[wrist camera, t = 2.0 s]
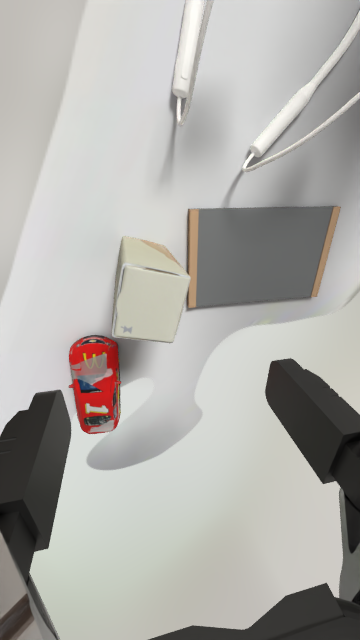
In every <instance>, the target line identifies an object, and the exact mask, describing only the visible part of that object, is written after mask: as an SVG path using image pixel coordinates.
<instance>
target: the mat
mask: <svg viewBox="0 0 360 640" xmlns="http://www.w3.org/2000/svg"><path fill="white" fill-rule="evenodd" d="M340 208H341V207H338V206H324V207H269V208H214V209H189V218H188V275H189V276H190V277H191V280H190V283H189V287H188V300H187V305H188V307H189V308H193V307H200V306H211V305H223V304H234V303H245V302H257V301H268V300H279V299H291V298H302V297H317V294H318V291H319V287H320V283H321V279H322V276H323V272H324V268H325V264H326V261H327V257H328V253H329V249H330V245H331V242H332V238H333V234H334V230H335V227H336V223H337V219H338V215H339V211H340Z"/></svg>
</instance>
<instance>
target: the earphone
mask: <svg viewBox="0 0 360 640" xmlns="http://www.w3.org/2000/svg"><path fill="white" fill-rule="evenodd" d="M213 1H214V0H207V2H206V7H205V11H204V15H203V9H204V4H205V0H186V3H185V9H184V16H183V22H182V29H181V35H180V42H179V48H178V54H177V60H176V64H175V74H174V80H173V87H172V92H173V94H174V95H175V96H177V123H178V125H179V126H181V125H183V123H184V122H185V120H186V117H187V114H188V111H189V108H190V104H191V100H192V95H193V90H194V85H195V80H196V75H197V70H198V65H199V60H200V55H201V51H202V46H203V42H204V37H205V33H206V29H207V25H208V21H209V16H210V12H211V8H212V5H213ZM202 15H203V19H202ZM201 20H202V24H201ZM200 26H201V28H200ZM359 29H360V10H359V12H358V14H357V16H356V18H355V20H354V22H353V24H352V25H351V27H350V29H349V30H348V32H347V34H346V35H345V37H344V38H343V40H342V41H341V43H340V44H339V46H338V47H337V49H336V50H335V51H334V53H333V54H332V55H331V56H330V58H329V59H328V60H327V61H326V63H325V64H324V65H323V66H322V67H321V69H320V70H319V71H318V72H317V74H316V75H315V76H314V77H313V79H312V80H311V81H310V82H309V83H308V84H307V85H305V86H304V87H303V88H301V89H300V90H299V91H298V92H296V94H295V95H294V96H293V97H292V98H291V99H290V101H289V102H288V103H287V104H286V105H285V106H284V108H283V109H282V110H281V111H280V112H279V113H278V115H277V116H276V117H275V118H274V119H273V120H272V122H271V123H270V124H269V125H268V126H267V127H266V129H265V130H264V131H263V132H262V133H261V134H260V135H259V137H258V138H257V139H256V140H255V141H254V142H253V144H252V145H251V147H250V149H251V152H252V153H251V155H250V156H249V157H248V158H247V160H246V161H245V163H244V165H243V167H242V170H243V172H249V171H252V170H255V169H256V168H259V167H261V166H263V165H265V164H267V163H269V162H271V161H274V160H276V159H278V158H280V157H282V156H283V155H285V154H287V153H289V152H291V151H292V150H294V149H296V148H297V147H299V146H300V145H302V144H303V143H305V142H306V141H308V140H309V139H311V138H312V137H314V136H315V135H316V134H318V133H319V132H320V131H322V130H323V129H324V128H326V127H327V126H328V125H329V124H331V123H332V122H333V121H334V120H336V119H337V118H338V117H339V116H340V115H342V114H343V113H344V112H345V111H346V110H348V109H349V108H350V107H351V106H352V105H353V104H354V103H356V102H357V101H358V100H359V99H360V92H359V93H358V94H357V95H355V96H354V97H353V98H352V99H351V100H350V101H349V102H348V103H347V104H345V105H344V106H343V107H342V108H341V109H340V110H338V111H337V112H336V113H335V114H334V115H333V116H331V117H330V118H329V119H328V120H326V121H325V122H324V123H323V124H321V125H320V126H319V127H318V128H316V129H315V130H314V131H312V132H311V133H309V134H308V135H307V136H305V137H304V138H302V139H301V140H299V141H298V142H296V143H295V144H293V145H291V146H290V147H288V148H286V149H285V150H283V151H281V152H279V153H277V154H275V155H273V156H271V157H269V158H267V159H265V160H263V161H261V162H259V163H257V164H255V165H253V166H251V167H248V168H246V166H247V165H248V163H249V162H250V160H251V159H252V158H253V157H254V156H256V157H261V156H262V155H263V154H264V153H265V152H266V150H267V149H268V148H269V147H270V146H271V145H272V144H273V142H274V141H275V140H276V139H277V138H278V137H279V136H280V134H281V133H282V132H283V131H284V130H285V129H286V128H287V126H288V125H289V124H290V123H291V122H292V121H293V120H294V118H295V117H296V116H297V115H298V114H299V113H300V112H301V110H302V109H303V108H304V107H305V106H306V105H307V103H308V101H309V100H310V98H311V96H312V95H313V93H314V91H315V89H316V88H317V86H318V85H319V84H320V83H321V81H322V80H323V79H324V78H325V77H326V75H327V74H328V73H329V72H330V70H331V69H332V68H333V67H334V66H335V64H336V63H337V62H338V61H339V59H340V58H341V57H342V55H343V54H344V53H345V51H346V50H347V48H348V47H349V45H350V44H351V42H352V41H353V39H354V38H355V36H356V34H357V33H358V31H359ZM199 32H200V33H199ZM198 37H199V38H198ZM186 97H187V100H186V104H185V108H184V112H183V115H182V117H181V98H186Z"/></svg>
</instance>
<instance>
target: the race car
mask: <svg viewBox="0 0 360 640" xmlns="http://www.w3.org/2000/svg"><path fill="white" fill-rule="evenodd" d="M69 362H70V367H71V375H72V382H73V384H71V385H69V388H73V389H74V395H75V402H76V409H77V416H78V420H79V422H80V426H81V429H82V430H83V431H84V432H86V433H88V434H97V433H105V432H110V431H112V430H114V429H115V428H116V427H117V425H118V422H119V418H120V413H121V412H120V384H121V381H120V374H119V359H118V345H117V343H116V342H114V341H113V340H111V339H109V338H107V337H104V336H98V335H91V336H87V337H84V338H81V339H79V340H78V341H76V342H75V343H74V344H73V345H72V346H71V348H70V352H69Z"/></svg>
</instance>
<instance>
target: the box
mask: <svg viewBox="0 0 360 640" xmlns="http://www.w3.org/2000/svg"><path fill="white" fill-rule="evenodd" d="M190 280H191V277H190V276H189V275H188V274H187V272H186V271H185V270H184V269H183V268H182V266H181V265H180V264H179V263H178V262H177V260H176V259H175V258H174V257H173V256H172V254H171V253H170V252H169V251H168V250H167V248H166V247H165V246H164V245H160V244H156V243H153V242H149V241H145V240H140V239H136V238H131V237H126V236H123V237H122V241H121V246H120V251H119V258H118V265H117V272H116V281H115V292H114V304H113V318H112V337H115V338H124V339H132V340H142V341H152V342H165V343H173V341H174V339H175V335H176V332H177V329H178V325H179V322H180V318H181V315H182V311H183V307H184V303H185V299H186V296H187V292H188V287H189V283H190Z"/></svg>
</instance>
